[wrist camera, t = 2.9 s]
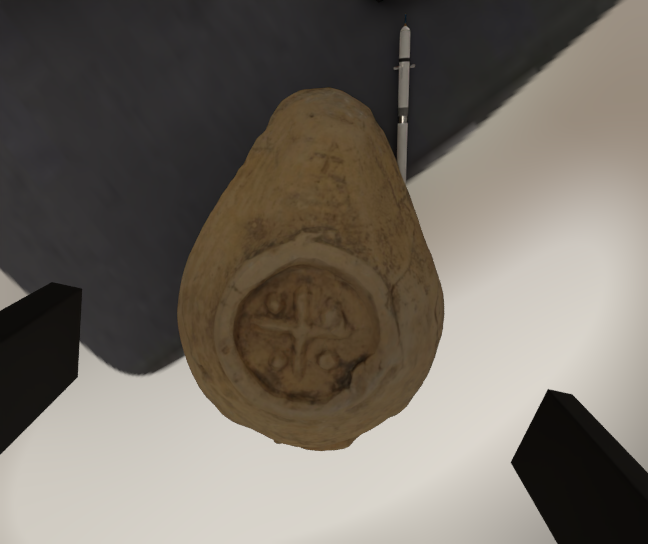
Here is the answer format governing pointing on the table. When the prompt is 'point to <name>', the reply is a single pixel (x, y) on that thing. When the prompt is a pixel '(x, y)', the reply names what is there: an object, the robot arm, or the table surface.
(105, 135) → the table surface
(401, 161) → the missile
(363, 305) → the oil lamp
